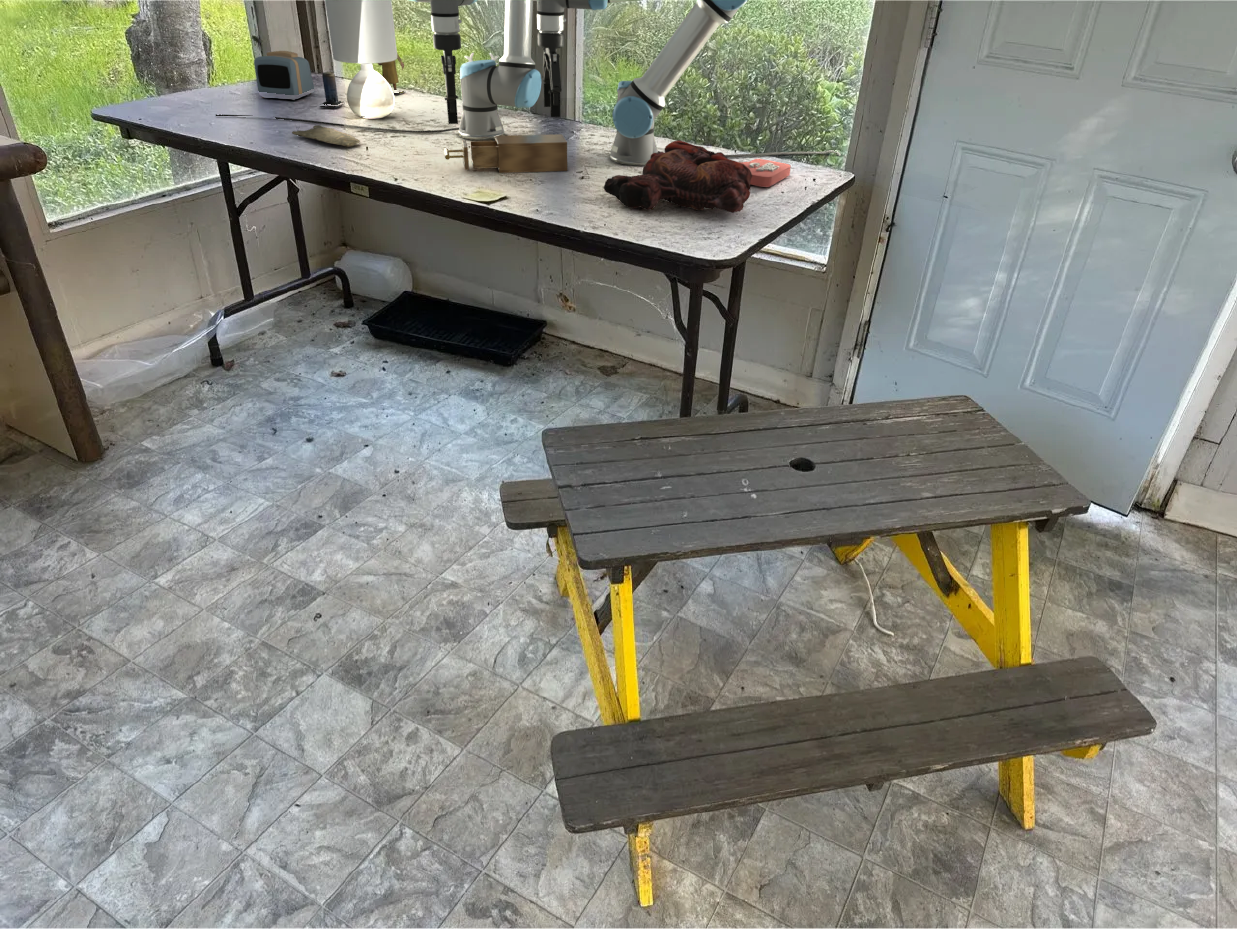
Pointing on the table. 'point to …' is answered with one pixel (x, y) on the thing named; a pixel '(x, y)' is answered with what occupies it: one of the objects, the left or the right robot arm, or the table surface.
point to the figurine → (391, 72)
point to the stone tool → (328, 136)
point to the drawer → (477, 154)
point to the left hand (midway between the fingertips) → (453, 123)
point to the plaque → (767, 172)
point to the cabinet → (532, 153)
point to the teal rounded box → (283, 73)
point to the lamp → (364, 51)
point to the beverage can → (330, 90)
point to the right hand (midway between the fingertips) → (552, 111)
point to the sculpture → (685, 180)
